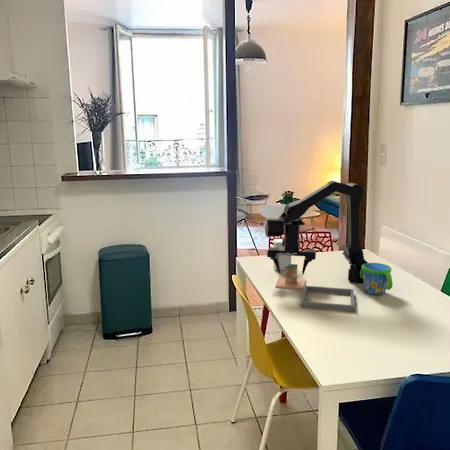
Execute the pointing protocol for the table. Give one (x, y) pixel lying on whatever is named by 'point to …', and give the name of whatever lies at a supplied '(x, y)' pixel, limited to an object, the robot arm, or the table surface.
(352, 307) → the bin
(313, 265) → the table surface
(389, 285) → the snack cup
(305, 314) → the table surface
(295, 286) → the tile
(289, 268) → the oak block
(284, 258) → the supplement box
